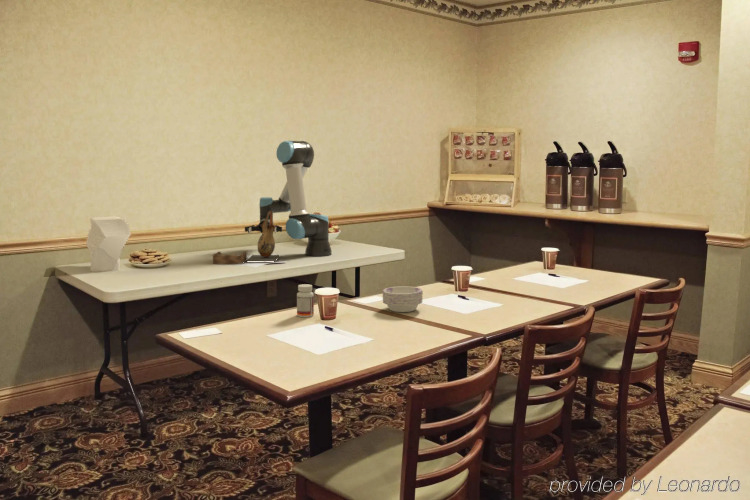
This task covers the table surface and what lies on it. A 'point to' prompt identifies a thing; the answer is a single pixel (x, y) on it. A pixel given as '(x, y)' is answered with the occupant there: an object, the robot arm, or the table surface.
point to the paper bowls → (402, 298)
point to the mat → (263, 258)
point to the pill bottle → (305, 301)
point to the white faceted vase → (106, 242)
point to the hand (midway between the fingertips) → (262, 231)
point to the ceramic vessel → (266, 238)
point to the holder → (229, 258)
